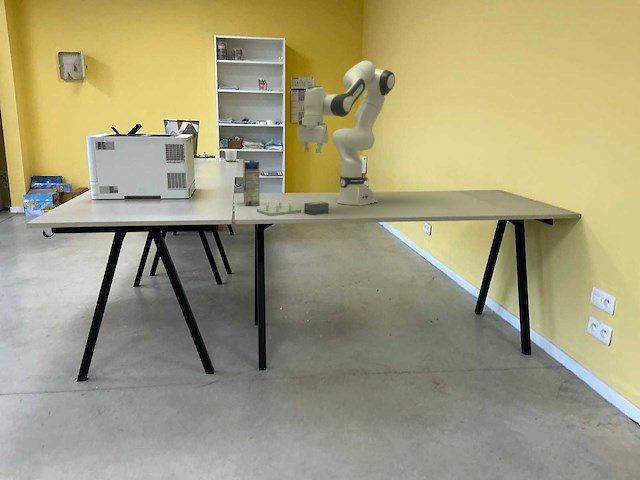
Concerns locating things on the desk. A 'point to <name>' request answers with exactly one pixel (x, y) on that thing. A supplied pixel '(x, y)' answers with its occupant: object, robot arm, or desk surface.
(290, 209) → the green peg board
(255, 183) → the beverage box
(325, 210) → the block
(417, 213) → the desk surface
